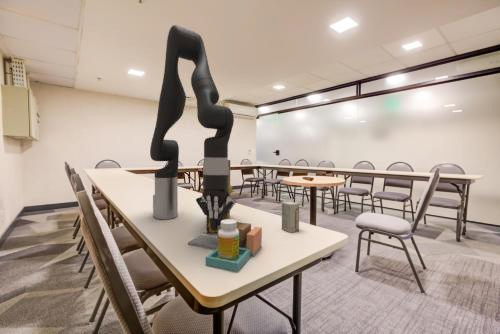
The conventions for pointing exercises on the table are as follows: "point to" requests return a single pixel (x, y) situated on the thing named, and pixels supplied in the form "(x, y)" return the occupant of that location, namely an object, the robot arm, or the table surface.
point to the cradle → (227, 264)
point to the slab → (241, 232)
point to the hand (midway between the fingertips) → (215, 229)
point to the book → (230, 189)
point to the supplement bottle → (228, 240)
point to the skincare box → (290, 216)
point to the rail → (252, 243)
